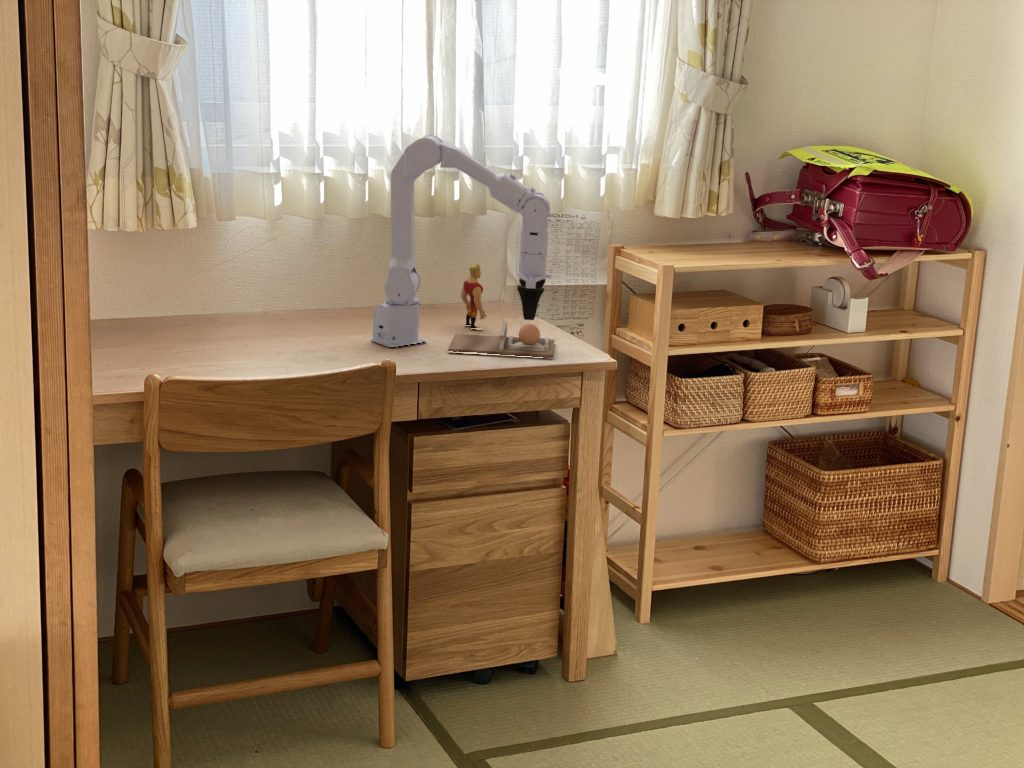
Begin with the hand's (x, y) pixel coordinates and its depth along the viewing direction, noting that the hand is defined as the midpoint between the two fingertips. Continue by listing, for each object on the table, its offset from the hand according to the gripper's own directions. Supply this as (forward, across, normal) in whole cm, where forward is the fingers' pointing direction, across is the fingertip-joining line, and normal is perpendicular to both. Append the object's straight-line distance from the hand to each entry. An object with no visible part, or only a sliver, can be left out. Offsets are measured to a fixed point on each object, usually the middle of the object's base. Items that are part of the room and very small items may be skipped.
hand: (529, 315), depth 255 cm
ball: (+4, 0, 0) cm, 4 cm away
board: (+8, 0, +5) cm, 9 cm away
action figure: (+8, +18, +13) cm, 23 cm away
